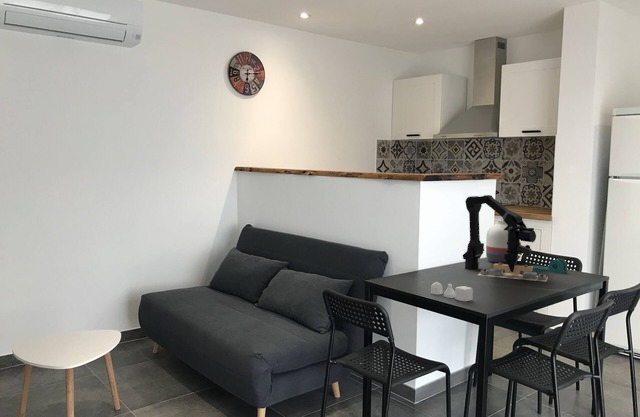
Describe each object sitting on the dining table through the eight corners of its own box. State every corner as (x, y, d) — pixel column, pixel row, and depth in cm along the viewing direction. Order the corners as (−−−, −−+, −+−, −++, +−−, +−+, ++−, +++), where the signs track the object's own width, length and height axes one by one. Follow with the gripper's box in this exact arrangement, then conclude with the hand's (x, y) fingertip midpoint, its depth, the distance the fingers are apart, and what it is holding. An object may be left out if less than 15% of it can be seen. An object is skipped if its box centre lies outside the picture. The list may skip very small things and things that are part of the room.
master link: (493, 272, 265) (493, 263, 264) (494, 270, 268) (494, 261, 268) (531, 275, 257) (532, 266, 256) (532, 274, 260) (532, 264, 260)
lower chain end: (480, 274, 267) (480, 269, 267) (482, 272, 272) (482, 267, 272) (501, 276, 262) (501, 271, 262) (502, 273, 268) (503, 269, 267)
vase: (499, 265, 297) (501, 223, 295) (479, 260, 312) (480, 220, 311) (522, 263, 304) (524, 222, 302) (501, 258, 319) (503, 219, 317)
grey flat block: (522, 278, 258) (522, 273, 258) (523, 275, 263) (524, 271, 263) (544, 280, 253) (544, 275, 253) (545, 277, 258) (545, 273, 258)
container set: (472, 300, 219) (472, 287, 218) (464, 302, 216) (464, 289, 215) (436, 291, 235) (436, 279, 234) (428, 293, 232) (428, 280, 231)
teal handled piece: (567, 274, 273) (567, 259, 272) (561, 276, 269) (561, 260, 268) (533, 269, 286) (534, 255, 286) (527, 270, 282) (527, 256, 281)
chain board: (477, 277, 265) (477, 275, 265) (481, 272, 275) (481, 270, 275) (546, 283, 250) (546, 281, 250) (548, 278, 261) (548, 276, 261)
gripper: (529, 243, 249) (527, 276, 251) (532, 238, 266) (531, 269, 267) (504, 241, 254) (503, 273, 256) (509, 237, 271) (508, 267, 272)
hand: (512, 271), depth 262 cm, fingers closed on master link, 4 cm apart
